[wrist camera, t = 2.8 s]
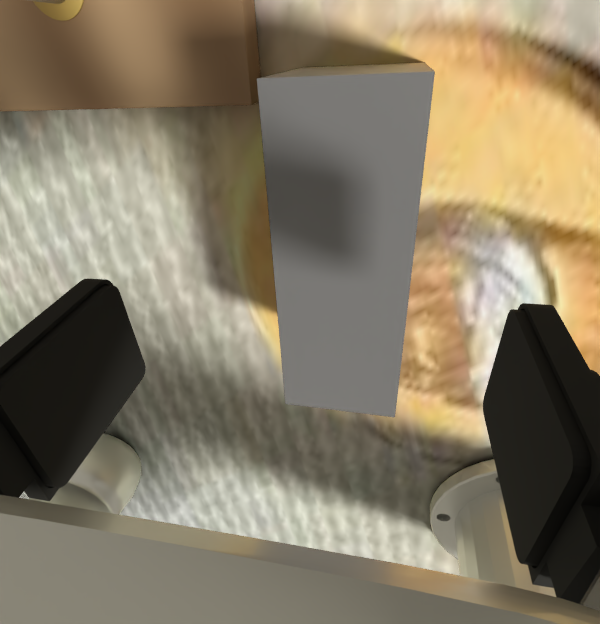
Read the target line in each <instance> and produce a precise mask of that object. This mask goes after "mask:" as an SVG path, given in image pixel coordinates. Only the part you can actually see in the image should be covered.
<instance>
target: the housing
mask: <svg viewBox="0 0 600 624" xmlns="http://www.w3.org/2000/svg"><path fill="white" fill-rule="evenodd" d="M434 74H435V71H434V70H433V69H431V68H430V67H429V66H428V65H427V64H426V63H425V62H420V63H397V64H374V65H351V66H328V67H305V68H298V69H294V70H290V71H286V72H282V73H277V74H273V75H269V76H265V77H261V78H257V86H258V97H259V109H260V120H261V131H262V143H263V154H264V165H265V177H266V188H267V199H268V211H269V222H270V233H271V245H272V256H273V267H274V279H275V290H276V302H277V313H278V324H279V336H280V347H281V358H282V370H283V381H284V392H285V404H291V405H299V406H307V407H315V408H323V409H331V410H339V411H348V412H356V413H364V414H372V415H380V416H388V417H395V411H396V403H397V394H398V385H399V377H400V368H401V359H402V351H403V342H404V333H405V325H406V316H407V307H408V299H409V290H410V281H411V273H412V264H413V256H414V247H415V238H416V230H417V221H418V212H419V204H420V195H421V186H422V178H423V169H424V160H425V152H426V143H427V134H428V126H429V117H430V108H431V100H432V91H433V82H434Z"/></svg>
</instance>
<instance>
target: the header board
mask: <svg viewBox="0 0 600 624" xmlns="http://www.w3.org/2000/svg"><path fill="white" fill-rule="evenodd" d="M257 78H261V75H260V63H259V51H258V39H257V27H256V15H255V3H254V0H0V111H34V110H73V109H112V108H151V107H190V106H229V105H253V104H255V103H258V102H259V97H258V86H257Z"/></svg>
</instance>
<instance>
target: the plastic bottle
mask: <svg viewBox="0 0 600 624" xmlns="http://www.w3.org/2000/svg"><path fill="white" fill-rule="evenodd" d="M140 478H141V461H140V458H139V456H138V455H137V453H136V452H135V451H134V450H133V449H132V448H131V447H130V446H129V445H128V444H126V443H125V442H123V441H122V440H120V439H118V438H116V437H114V436H111V435H108V434H104V433H103V434H102V436H101V437H100V438H99V440H98V441H97V443H96V444H95V445H94V447H93V448H92V450H91V451H90V452H89V454H88V455H87V457H86V458H85V459H84V461H83V462H82V464H81V465H80V466H79V468H78V469H77V471H76V472H75V473H74V475H73V476H72V478H71V479H70V480H69V482H68V483H67V484H66V485H65V486H63V487H61V488H59V489H58V491H57V492H56V494H55V495H54V496H53V498H52V499H51V500H50V501H45V500H39V499H33V498H29V500H35V501H41V502H47V503H53V504H59V505H65V506H71V507H77V508H83V509H89V510H95V511H100V512H106V513H112V514H118V515H119V514H120V513H121V512H122V510H123V509H124V508H125V506H126V505H127V504H128V503H129V501H130V500H131V499H132V497H133V496H134V494H135V491H136V489H137V486H138V484H139V481H140Z"/></svg>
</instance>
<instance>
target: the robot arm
mask: <svg viewBox="0 0 600 624" xmlns="http://www.w3.org/2000/svg"><path fill="white" fill-rule="evenodd" d="M144 374H145V363H144V360H143V358H142V355H141V352H140V349H139V346H138V343H137V341H136V338H135V335H134V332H133V329H132V326H131V323H130V321H129V318H128V315H127V312H126V309H125V306H124V304H123V301H122V298H121V295H120V292H119V290H118V288H117V287H115V286H113V284H112V283H111V282H110V281H108V280H102V279H84V280H82V281H80V282H79V283H78V284H77V285H75V286H74V287H73V288H72V289H71V290H69V291H68V292H67V293H66V294H64V295H63V296H62V297H61V298H59V299H58V300H57V301H56V302H55V303H53V304H52V305H51V306H50V307H48V308H47V309H46V310H45V311H43V312H42V313H41V314H40V315H39V316H37V317H36V318H35V319H34V320H32V321H31V322H30V323H29V324H27V325H26V326H25V327H24V328H23V329H21V330H20V331H19V332H18V333H16V334H15V335H14V336H13V337H11V338H10V339H9V340H8V341H6V342H5V343H4V344H3V345H2V346H0V624H600V376H599V375H598V373H597V372H595V371H593V370H590V369H589V367H588V366H587V364H586V362H585V360H584V358H583V357H582V355H581V353H580V351H579V350H578V348H577V346H576V344H575V343H574V341H573V339H572V337H571V336H570V334H569V332H568V330H567V328H566V327H565V325H564V323H563V321H562V320H561V318H560V316H559V314H558V313H557V311H556V309H555V308H554V306H552V305H541V304H524V303H523V304H521V305H520V306H519V308H518V310H510V312H509V313H508V316H507V320H506V323H505V327H504V330H503V334H502V337H501V340H500V344H499V347H498V351H497V354H496V358H495V361H494V365H493V368H492V372H491V375H490V379H489V382H488V385H487V389H486V392H485V396H484V401H483V412H484V417H485V421H486V426H487V430H488V435H489V439H490V443H491V448H492V452H493V457H494V459H492V460H488V461H483V462H480V463H477V464H475V465H472V466H469V467H467V468H464V469H463V470H461V471H459V472H457V473H456V474H454V475H452V476H450V477H449V478H448V479H447V480H446V481H445V482H443V483H442V484H441V485H440V486H439V487H438V489H437V490H436V492H435V493H434V495H433V497H432V500H431V504H430V523H431V528H432V532H433V534H434V536H435V538H436V539H437V541H438V542H439V544H440V545H441V546H442V547H443V548H444V549H445V550H446V551H447V552H448V553H450V554H451V555H452V556H453V557H455V558H456V559H457V560H458V565H459V574H460V576H458V575H453V574H448V573H443V572H438V571H432V570H427V569H422V568H417V567H412V566H407V565H402V564H397V563H391V562H385V561H380V560H374V559H369V558H363V557H357V556H352V555H346V554H340V553H335V552H329V551H324V550H318V549H312V548H307V547H301V546H296V545H290V544H284V543H279V542H273V541H268V540H262V539H256V538H251V537H245V536H239V535H233V534H228V533H222V532H216V531H210V530H205V529H199V528H193V527H187V526H182V525H176V524H170V523H164V522H159V521H153V520H147V519H141V518H135V517H129V516H124V515H118V514H112V513H106V512H100V511H95V510H89V509H83V508H77V507H71V506H65V505H59V504H53V503H47V502H41V501H35V500H29V499H23V498H19V497H20V495H21V494H22V493H23V492H25V493H26V494H27V496H28V497H29V498H33V499H39V500H45V501H50V500H51V499H52V498H53V496H54V495H55V494H56V492H57V491H58V489H59V488H61V487H63V486H65V485H66V484H67V483H68V482H69V480H70V479H71V478H72V476H73V475H74V473H75V472H76V471H77V469H78V468H79V466H80V465H81V464H82V462H83V461H84V459H85V458H86V457H87V455H88V454H89V452H90V451H91V450H92V448H93V447H94V445H95V444H96V443H97V441H98V440H99V438H100V437H101V436H102V434H103V433H104V432H105V430H106V429H107V427H108V426H109V425H110V423H111V422H112V420H113V419H114V418H115V416H116V415H117V413H118V412H119V411H120V409H121V408H122V406H123V405H124V404H125V402H126V401H127V399H128V398H129V397H130V395H131V394H132V392H133V391H134V390H135V388H136V387H137V385H138V384H139V383H140V381H141V380H142V378H143V377H144Z"/></svg>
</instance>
